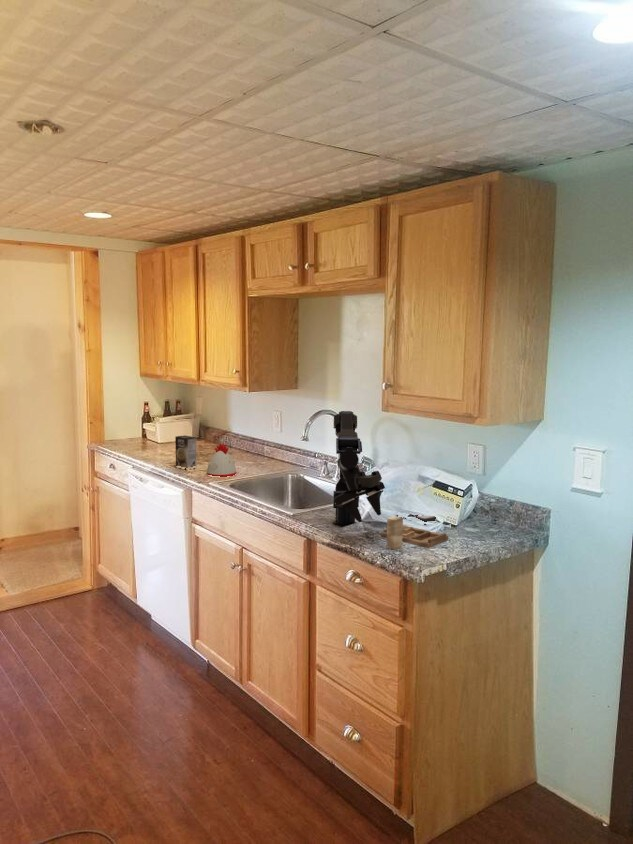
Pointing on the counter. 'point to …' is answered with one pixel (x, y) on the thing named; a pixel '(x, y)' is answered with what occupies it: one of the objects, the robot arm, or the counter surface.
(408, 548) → the counter surface
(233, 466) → the grey pompom beanie
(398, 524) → the tan wooden block
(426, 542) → the rack
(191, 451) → the coffee box
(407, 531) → the oak offcut upper
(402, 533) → the oak offcut lower
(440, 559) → the counter surface
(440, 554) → the counter surface
